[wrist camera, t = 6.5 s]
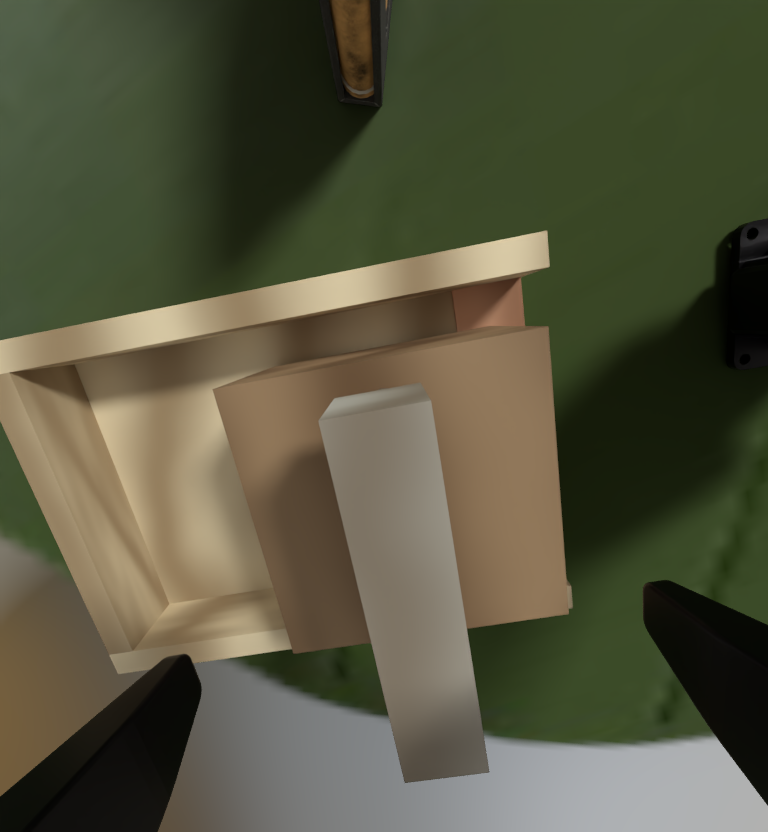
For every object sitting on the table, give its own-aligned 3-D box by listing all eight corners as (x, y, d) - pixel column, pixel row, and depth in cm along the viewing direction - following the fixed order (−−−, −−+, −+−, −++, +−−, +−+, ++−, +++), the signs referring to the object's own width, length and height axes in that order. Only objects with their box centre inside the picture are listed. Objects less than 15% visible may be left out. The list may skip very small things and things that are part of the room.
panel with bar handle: (489, 325, 16) (668, 327, 6) (511, 522, 18) (664, 766, 8) (273, 366, 17) (92, 433, 6) (322, 552, 19) (247, 817, 9)
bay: (509, 252, 16) (547, 230, 13) (537, 553, 20) (572, 608, 16) (59, 342, 18) (-34, 347, 14) (166, 611, 21) (117, 674, 18)
